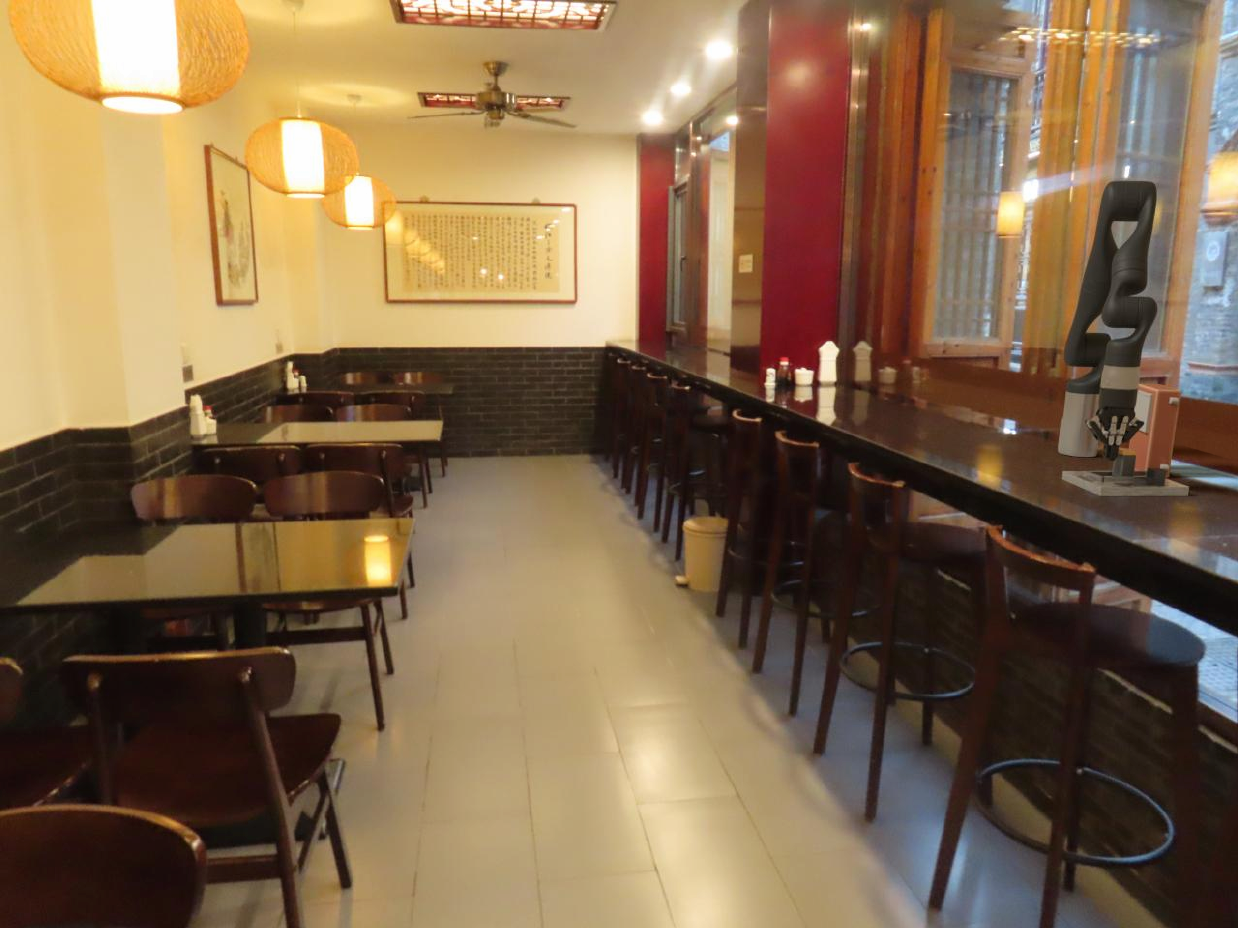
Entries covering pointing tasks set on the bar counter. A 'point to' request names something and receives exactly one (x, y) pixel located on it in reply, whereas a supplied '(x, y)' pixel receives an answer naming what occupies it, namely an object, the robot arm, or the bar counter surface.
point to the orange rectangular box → (1155, 426)
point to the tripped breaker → (1124, 463)
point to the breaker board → (1126, 483)
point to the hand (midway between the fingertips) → (1109, 460)
